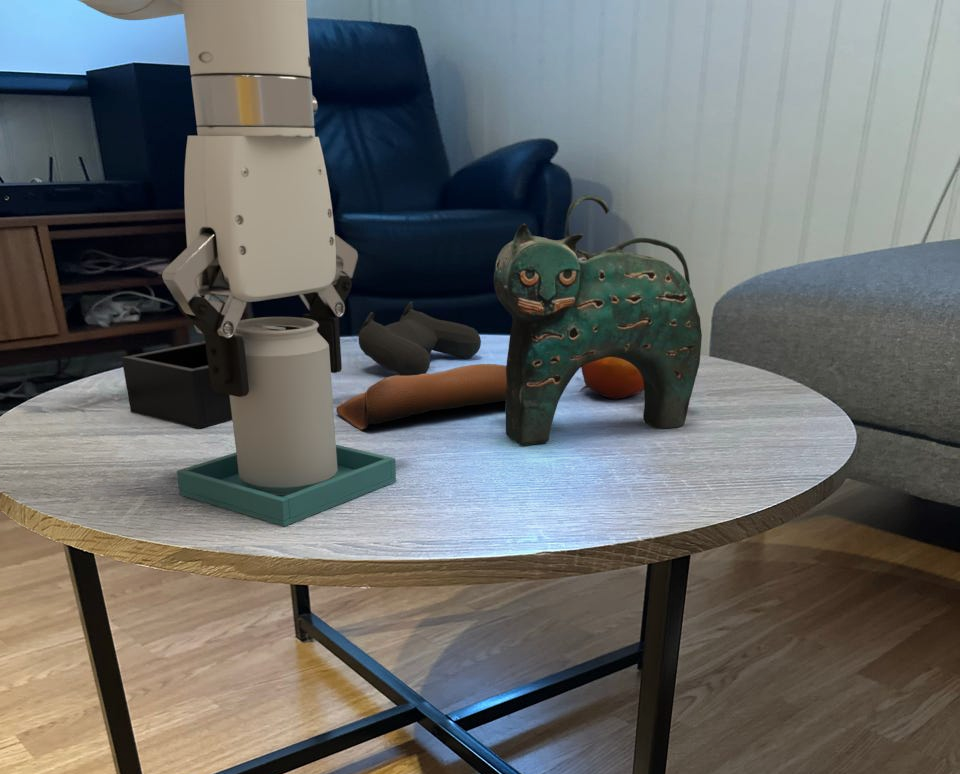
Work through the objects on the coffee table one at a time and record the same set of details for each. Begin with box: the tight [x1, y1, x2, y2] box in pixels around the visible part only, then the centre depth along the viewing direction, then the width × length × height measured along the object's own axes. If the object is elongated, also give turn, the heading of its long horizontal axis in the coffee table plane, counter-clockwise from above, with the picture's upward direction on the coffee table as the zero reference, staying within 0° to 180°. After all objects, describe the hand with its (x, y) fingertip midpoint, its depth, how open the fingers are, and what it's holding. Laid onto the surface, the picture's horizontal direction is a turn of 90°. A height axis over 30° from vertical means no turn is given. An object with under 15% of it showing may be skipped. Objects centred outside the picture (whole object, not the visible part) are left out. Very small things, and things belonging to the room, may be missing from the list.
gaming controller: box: [358, 301, 482, 376], centre depth 111 cm, size 17×6×10 cm
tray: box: [176, 444, 397, 527], centre depth 72 cm, size 12×11×2 cm
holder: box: [121, 340, 233, 430], centre depth 92 cm, size 10×10×5 cm
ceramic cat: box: [493, 194, 703, 447], centre depth 82 cm, size 20×6×20 cm, turn 112°
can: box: [229, 316, 338, 495], centre depth 70 cm, size 8×8×12 cm
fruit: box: [579, 357, 644, 400], centre depth 99 cm, size 8×8×8 cm
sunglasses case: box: [335, 363, 507, 431], centre depth 92 cm, size 18×7×7 cm
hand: (279, 380), depth 69 cm, fingers open, 8 cm apart
